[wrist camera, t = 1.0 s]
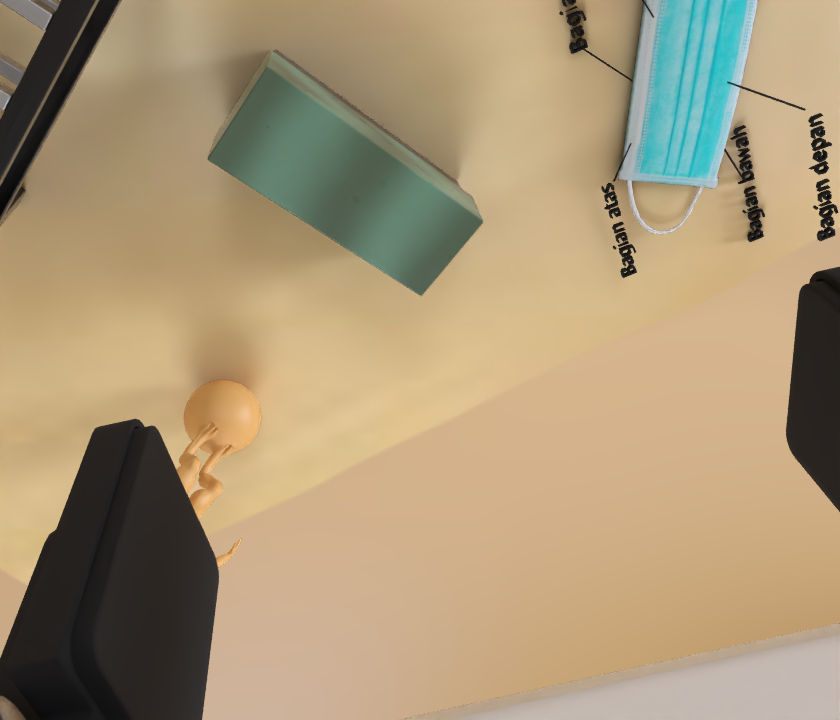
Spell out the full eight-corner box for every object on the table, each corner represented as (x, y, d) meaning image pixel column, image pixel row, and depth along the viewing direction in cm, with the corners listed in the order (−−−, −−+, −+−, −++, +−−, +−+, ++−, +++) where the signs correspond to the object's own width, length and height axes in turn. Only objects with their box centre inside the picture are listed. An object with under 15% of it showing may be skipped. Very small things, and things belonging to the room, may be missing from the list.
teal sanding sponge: (219, 123, 36) (206, 159, 32) (272, 39, 35) (267, 65, 30) (410, 250, 41) (421, 297, 36) (466, 181, 39) (484, 222, 35)
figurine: (297, 431, 46) (292, 594, 36) (209, 474, 47) (180, 644, 37) (212, 324, 42) (179, 475, 32) (117, 373, 43) (56, 536, 33)
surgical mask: (845, 252, 39) (649, 330, 40) (798, 218, 42) (620, 290, 43) (798, -243, 28) (528, -117, 29) (741, -232, 31) (502, -121, 32)
